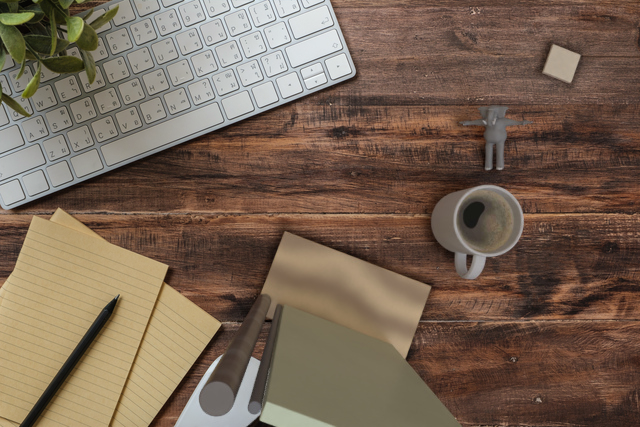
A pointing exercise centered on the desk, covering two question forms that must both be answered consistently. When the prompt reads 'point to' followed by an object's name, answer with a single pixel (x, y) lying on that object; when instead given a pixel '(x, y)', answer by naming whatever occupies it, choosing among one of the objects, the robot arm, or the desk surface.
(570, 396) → the desk surface
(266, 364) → the door
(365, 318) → the door stand
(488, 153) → the elephant figurine
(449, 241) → the mug
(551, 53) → the coaster
